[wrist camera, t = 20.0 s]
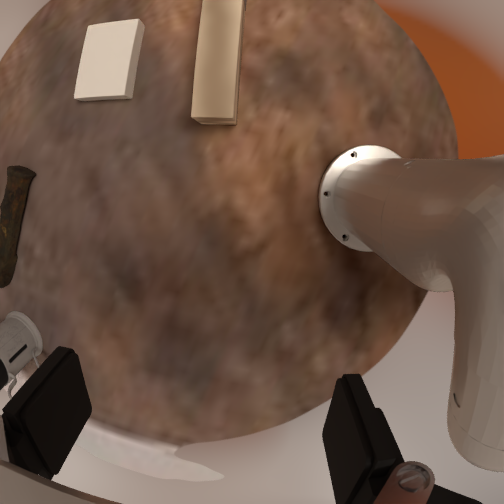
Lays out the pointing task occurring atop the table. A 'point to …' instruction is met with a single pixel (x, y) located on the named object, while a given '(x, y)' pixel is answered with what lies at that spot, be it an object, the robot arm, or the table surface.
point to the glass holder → (17, 346)
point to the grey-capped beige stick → (218, 62)
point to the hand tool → (12, 219)
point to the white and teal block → (109, 61)
